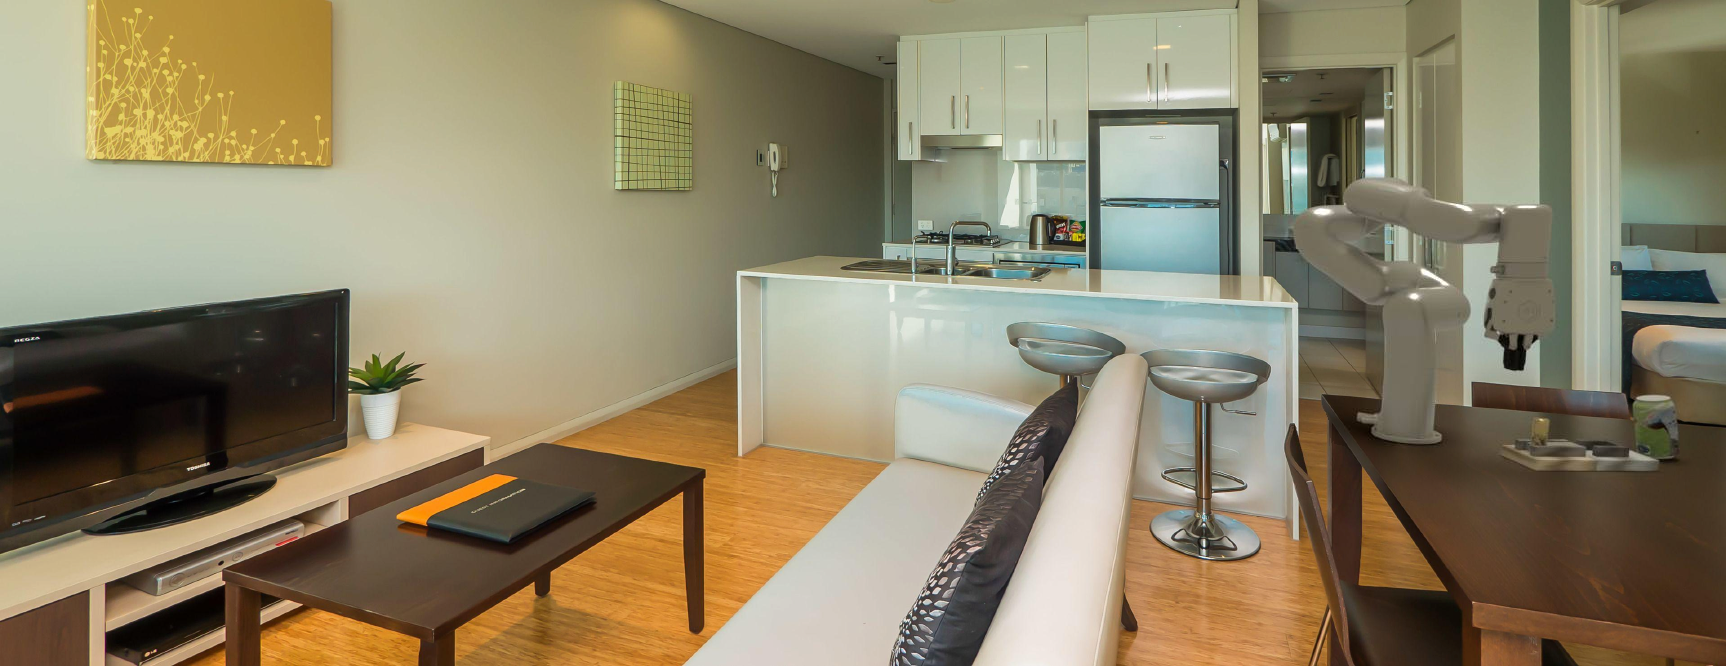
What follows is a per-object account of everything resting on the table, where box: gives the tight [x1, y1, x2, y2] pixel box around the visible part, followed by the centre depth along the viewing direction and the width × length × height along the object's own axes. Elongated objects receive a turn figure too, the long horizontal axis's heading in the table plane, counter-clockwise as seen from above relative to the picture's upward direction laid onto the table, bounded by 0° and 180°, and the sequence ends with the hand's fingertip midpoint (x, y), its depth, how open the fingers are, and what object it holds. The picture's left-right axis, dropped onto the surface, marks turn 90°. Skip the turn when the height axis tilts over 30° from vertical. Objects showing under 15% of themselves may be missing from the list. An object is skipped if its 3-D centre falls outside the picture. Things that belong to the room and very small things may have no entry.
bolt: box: [1526, 417, 1580, 452], centre depth 161 cm, size 8×2×6 cm, turn 85°
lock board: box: [1500, 438, 1660, 472], centre depth 161 cm, size 21×10×4 cm, turn 85°
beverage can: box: [1632, 394, 1680, 460], centre depth 163 cm, size 6×7×12 cm
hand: (1513, 369), depth 160 cm, fingers closed
